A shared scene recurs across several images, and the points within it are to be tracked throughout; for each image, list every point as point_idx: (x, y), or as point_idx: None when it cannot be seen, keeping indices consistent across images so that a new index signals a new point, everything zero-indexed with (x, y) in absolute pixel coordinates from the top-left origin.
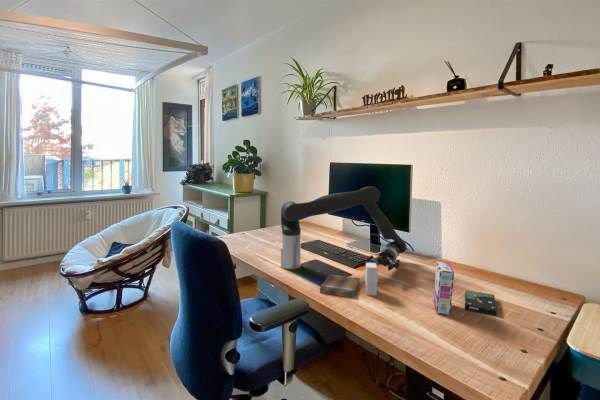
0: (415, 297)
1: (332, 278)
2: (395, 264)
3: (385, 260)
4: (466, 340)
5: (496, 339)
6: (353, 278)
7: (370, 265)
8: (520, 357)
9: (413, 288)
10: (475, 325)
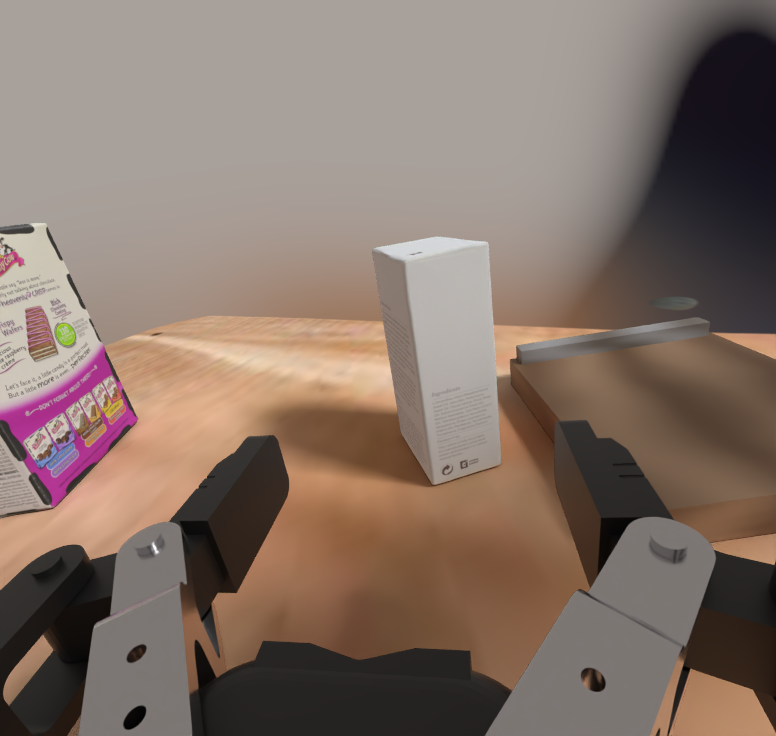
0: (152, 505)
1: None
2: (104, 557)
3: (280, 671)
4: (141, 368)
5: None
6: (683, 483)
7: (429, 242)
8: None
9: None
10: None
